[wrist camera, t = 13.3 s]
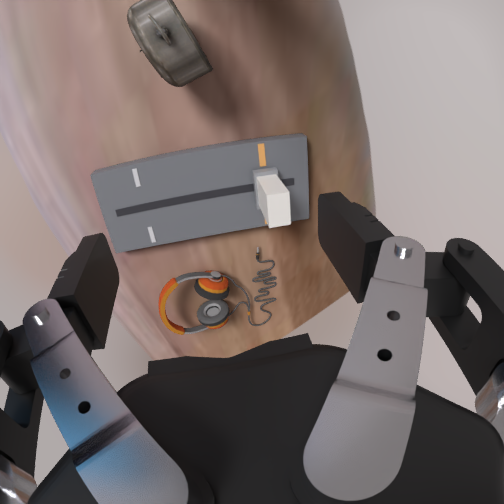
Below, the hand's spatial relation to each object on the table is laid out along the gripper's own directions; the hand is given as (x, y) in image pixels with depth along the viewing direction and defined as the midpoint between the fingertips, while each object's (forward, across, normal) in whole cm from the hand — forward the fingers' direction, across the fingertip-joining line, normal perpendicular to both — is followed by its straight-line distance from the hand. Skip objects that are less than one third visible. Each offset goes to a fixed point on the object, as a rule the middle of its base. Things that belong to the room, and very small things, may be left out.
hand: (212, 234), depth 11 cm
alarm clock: (+30, +2, -10) cm, 32 cm away
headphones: (+30, +2, +28) cm, 41 cm away
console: (+30, +1, +10) cm, 32 cm away
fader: (+28, -7, +10) cm, 30 cm away
